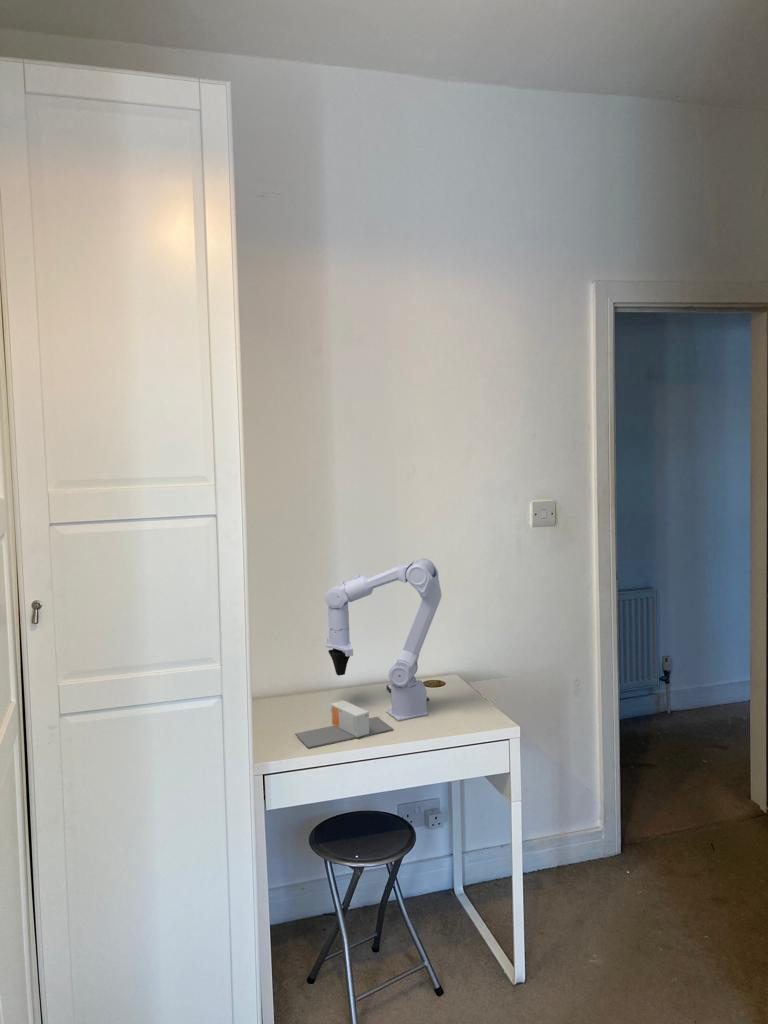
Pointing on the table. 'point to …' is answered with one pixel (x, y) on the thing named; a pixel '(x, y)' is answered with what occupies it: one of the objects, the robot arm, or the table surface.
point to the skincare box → (350, 718)
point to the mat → (339, 734)
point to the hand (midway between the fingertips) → (340, 674)
